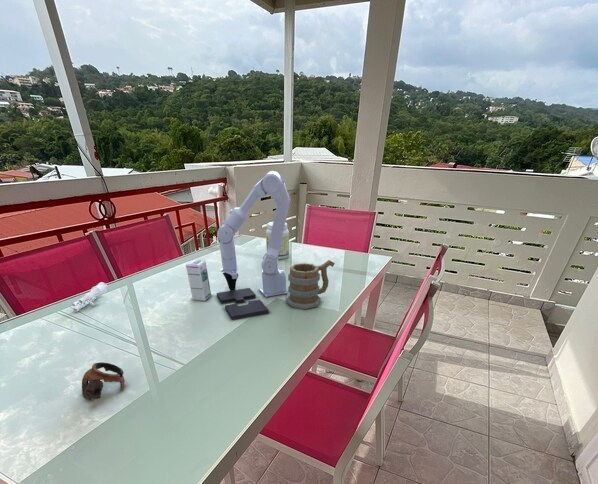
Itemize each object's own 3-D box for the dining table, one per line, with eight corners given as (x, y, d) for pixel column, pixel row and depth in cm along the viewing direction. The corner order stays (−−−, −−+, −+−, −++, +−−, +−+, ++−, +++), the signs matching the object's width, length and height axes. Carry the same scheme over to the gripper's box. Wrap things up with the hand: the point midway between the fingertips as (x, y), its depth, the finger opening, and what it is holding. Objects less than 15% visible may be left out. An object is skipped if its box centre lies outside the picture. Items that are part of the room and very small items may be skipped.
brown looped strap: (86, 384, 88) (94, 356, 86) (123, 394, 91) (132, 368, 89) (66, 404, 77) (75, 373, 75) (109, 415, 80) (119, 385, 78)
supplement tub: (266, 253, 184) (265, 221, 174) (288, 252, 185) (288, 220, 176) (267, 260, 174) (265, 226, 164) (290, 259, 175) (290, 226, 166)
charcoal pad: (259, 302, 131) (259, 299, 130) (268, 313, 123) (268, 309, 122) (225, 308, 126) (224, 305, 125) (232, 320, 118) (231, 316, 118)
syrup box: (205, 301, 131) (199, 265, 123) (191, 299, 132) (185, 263, 124) (211, 295, 136) (206, 260, 127) (198, 294, 137) (192, 259, 128)
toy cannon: (81, 316, 123) (67, 306, 121) (103, 301, 134) (91, 292, 132) (89, 303, 119) (76, 293, 117) (112, 288, 130) (100, 279, 129)
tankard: (296, 311, 125) (297, 272, 116) (282, 299, 134) (281, 262, 125) (340, 301, 132) (344, 264, 124) (324, 290, 142) (326, 255, 133)
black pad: (249, 291, 140) (249, 287, 139) (257, 300, 133) (257, 296, 132) (217, 296, 135) (216, 292, 134) (223, 306, 128) (222, 302, 127)
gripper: (214, 253, 135) (218, 285, 143) (223, 264, 124) (227, 297, 132) (231, 251, 137) (234, 282, 145) (241, 261, 126) (244, 295, 134)
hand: (232, 289), depth 139 cm, fingers closed
